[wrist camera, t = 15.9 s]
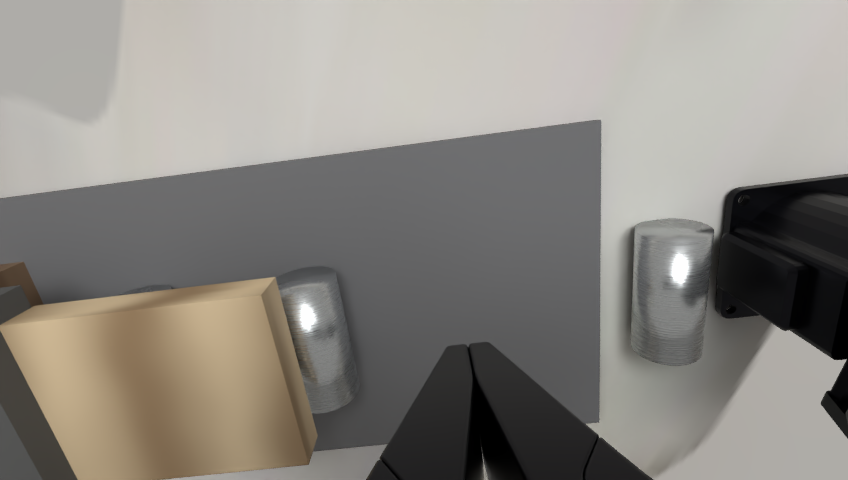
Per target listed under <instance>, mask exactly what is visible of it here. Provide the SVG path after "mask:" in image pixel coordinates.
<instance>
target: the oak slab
mask: <svg viewBox="0 0 848 480" xmlns="http://www.w3.org/2000/svg"><path fill="white" fill-rule="evenodd" d="M0 331H1V333H2V335H3V337H4V339H5V341H6V343H7V345H8V346H9V348H10V350H11V352H12V354H13V356H14V358H15V360H16V362H17V364H18V366H19V368H20V370H21V371H22V373H23V375H24V377H25V379H26V381H27V383H28V385H29V387H30V389H31V391H32V393H33V395H34V397H35V398H36V400H37V402H38V404H39V406H40V408H41V410H42V412H43V414H44V416H45V418H46V420H47V422H48V423H49V425H50V427H51V429H52V431H53V433H54V435H55V437H56V439H57V441H58V443H59V445H60V447H61V448H62V450H63V452H64V454H65V456H66V458H67V460H68V462H69V464H70V466H71V468H72V470H73V472H74V474H75V475H76V477H77V479H78V480H161V479H171V478H181V477H191V476H201V475H211V474H221V473H230V472H240V471H250V470H260V469H270V468H280V467H290V466H300V465H309V462H310V459H311V456H312V453H313V449H314V446H315V443H316V440H317V436H318V435H317V431H316V428H315V424H314V420H313V416H312V413H311V409H310V405H309V401H308V398H307V394H306V390H305V386H304V383H303V379H302V375H301V371H300V367H299V364H298V360H297V356H296V352H295V349H294V345H293V341H292V337H291V334H290V330H289V326H288V322H287V319H286V315H285V311H284V307H283V304H282V300H281V296H280V292H279V288H278V285H277V281H276V277H270V278H262V279H253V280H245V281H237V282H228V283H220V284H212V285H203V286H195V287H187V288H178V289H170V290H162V291H153V292H145V293H137V294H128V295H120V296H112V297H103V298H95V299H87V300H79V301H70V302H62V303H54V304H45V305H37V306H33V307H32V308H30V309H28V310H26V311H24V312H23V313H21V314H19V315H17V316H15V317H14V318H12V319H10V320H8V321H6V322H5V323H3V324H1V325H0Z"/></svg>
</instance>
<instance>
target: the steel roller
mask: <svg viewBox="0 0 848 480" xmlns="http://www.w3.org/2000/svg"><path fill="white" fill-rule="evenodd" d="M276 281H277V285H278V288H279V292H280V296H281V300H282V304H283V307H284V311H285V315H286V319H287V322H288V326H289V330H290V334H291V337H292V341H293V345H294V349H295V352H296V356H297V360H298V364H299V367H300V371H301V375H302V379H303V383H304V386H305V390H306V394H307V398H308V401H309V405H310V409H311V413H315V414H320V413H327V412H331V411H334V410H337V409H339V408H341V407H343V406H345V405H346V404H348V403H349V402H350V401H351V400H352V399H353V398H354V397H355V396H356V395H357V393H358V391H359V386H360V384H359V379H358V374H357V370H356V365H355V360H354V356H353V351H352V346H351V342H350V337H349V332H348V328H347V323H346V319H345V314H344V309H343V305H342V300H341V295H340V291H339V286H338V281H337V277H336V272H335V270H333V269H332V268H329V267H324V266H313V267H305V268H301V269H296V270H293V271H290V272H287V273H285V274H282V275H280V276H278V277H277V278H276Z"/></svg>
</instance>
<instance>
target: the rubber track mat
mask: <svg viewBox="0 0 848 480" xmlns="http://www.w3.org/2000/svg"><path fill="white" fill-rule="evenodd" d="M600 221H601V120H592V121H585V122H577V123H569V124H562V125H554V126H547V127H539V128H531V129H524V130H516V131H509V132H501V133H493V134H486V135H478V136H471V137H463V138H455V139H448V140H440V141H433V142H425V143H417V144H410V145H402V146H395V147H387V148H380V149H372V150H364V151H357V152H349V153H342V154H334V155H326V156H319V157H311V158H304V159H296V160H288V161H281V162H273V163H266V164H258V165H250V166H243V167H235V168H228V169H220V170H212V171H205V172H197V173H190V174H182V175H174V176H167V177H159V178H152V179H144V180H136V181H129V182H121V183H114V184H106V185H98V186H91V187H83V188H76V189H68V190H61V191H53V192H45V193H38V194H30V195H23V196H15V197H7V198H0V264H8V263H16V262H24V263H25V266H26V268H27V270H28V272H29V274H30V276H31V278H32V280H33V283H34V285H35V287H36V289H37V291H38V293H39V295H40V297H41V300H42V302H43V304H44V305H45V304H54V303H62V302H70V301H79V300H87V299H95V298H103V297H112V296H117V295H120V294H122V293H125V292H128V291H131V290H134V289H138V288H141V287H146V286H151V285H169V286H170V287H171V289H178V288H187V287H195V286H203V285H212V284H220V283H228V282H237V281H245V280H253V279H262V278H270V277H276V278H277V277H278V276H280V275H282V274H285V273H287V272H290V271H293V270H296V269H301V268H305V267H313V266H324V267H329V268H332V269H333V270H335V272H336V277H337V281H338V286H339V291H340V295H341V300H342V305H343V309H344V314H345V319H346V323H347V328H348V332H349V337H350V342H351V346H352V351H353V356H354V360H355V365H356V370H357V374H358V379H359V384H360V386H359V391H358V393H357V395H356V396H355V397H354V398H353V399H352V400H351V401H350V402H349V403H348V404H346V405H345V406H343V407H341V408H339V409H337V410H334V411H331V412H327V413H320V414H315V413H312V416H313V420H314V424H315V428H316V431H317V435H318V436H317V440H316V443H315V446H314V449H313V451H322V450H332V449H342V448H351V447H361V446H371V445H381V444H388V443H389V442H390V440H391V438H392V437H393V435H394V433H395V432H396V430H397V428H398V427H399V425H400V423H401V422H402V420H403V418H404V417H405V415H406V413H407V412H408V410H409V408H410V407H411V405H412V403H413V402H414V400H415V398H416V397H417V395H418V393H419V392H420V390H421V388H422V387H423V385H424V384H425V382H426V380H427V379H428V377H429V375H430V374H431V372H432V370H433V369H434V367H435V365H436V364H437V362H438V360H439V359H440V357H441V355H442V354H443V352H444V350H445V349H446V347H447V346H451V345H460V344H465V345H467V346H469V344H471V343H478V342H490V343H491V344H492V345H493V346H494V347H496V348H497V349H498V350H499V351H500V352H501V353H503V354H504V355H505V356H506V357H507V358H509V359H510V360H511V361H512V362H513V363H514V364H516V365H517V366H518V367H519V368H520V369H521V370H523V371H524V372H525V373H526V374H527V375H528V376H530V377H531V378H532V379H533V380H534V381H535V382H537V383H538V384H539V385H540V386H541V387H543V388H544V389H545V390H546V391H547V392H548V393H550V394H551V395H552V396H553V397H554V398H555V399H557V400H558V401H559V402H560V403H561V404H562V405H564V406H565V407H566V408H567V409H568V410H569V411H571V412H572V413H573V414H574V415H575V416H577V417H578V418H579V419H580V420H581V421H582V422H584V423H585V424H586V423H596V422H599V382H600Z"/></svg>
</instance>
